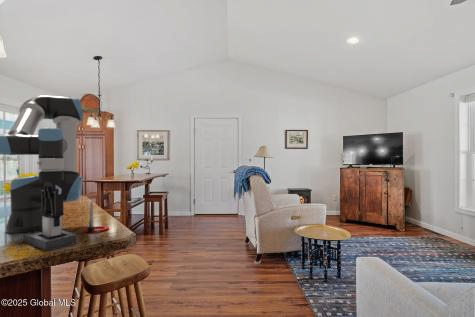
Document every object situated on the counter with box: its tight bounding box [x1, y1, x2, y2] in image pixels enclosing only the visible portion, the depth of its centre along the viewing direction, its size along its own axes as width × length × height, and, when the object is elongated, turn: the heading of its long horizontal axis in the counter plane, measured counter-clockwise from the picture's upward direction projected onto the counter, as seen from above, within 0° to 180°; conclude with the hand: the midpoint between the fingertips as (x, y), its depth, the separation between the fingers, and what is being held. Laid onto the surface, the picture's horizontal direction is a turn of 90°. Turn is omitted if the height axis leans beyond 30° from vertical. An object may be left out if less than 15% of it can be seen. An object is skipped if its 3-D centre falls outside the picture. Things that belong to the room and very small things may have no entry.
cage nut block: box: [42, 215, 63, 237], centre depth 98 cm, size 4×4×7 cm
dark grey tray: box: [24, 229, 78, 252], centre depth 99 cm, size 18×10×3 cm, turn 56°
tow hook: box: [82, 201, 110, 234], centre depth 115 cm, size 8×13×9 cm
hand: (52, 233), depth 98 cm, fingers closed on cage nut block, 4 cm apart
